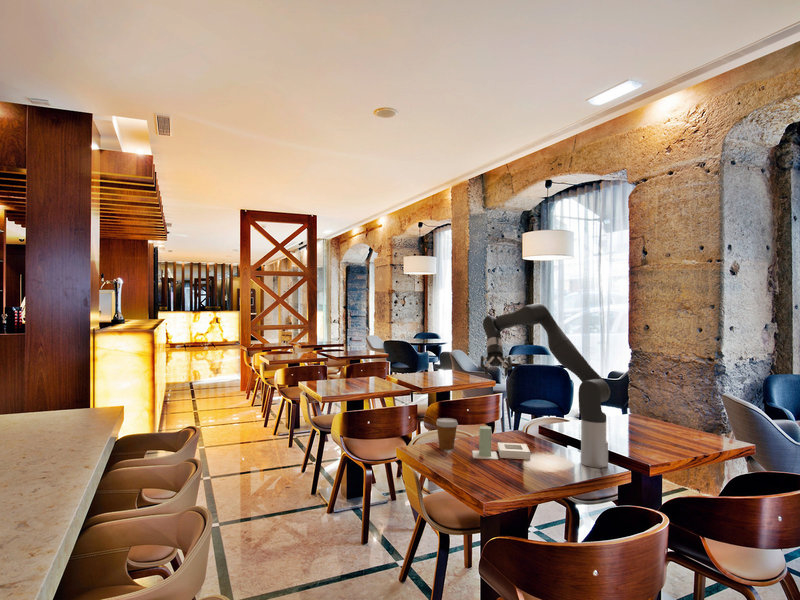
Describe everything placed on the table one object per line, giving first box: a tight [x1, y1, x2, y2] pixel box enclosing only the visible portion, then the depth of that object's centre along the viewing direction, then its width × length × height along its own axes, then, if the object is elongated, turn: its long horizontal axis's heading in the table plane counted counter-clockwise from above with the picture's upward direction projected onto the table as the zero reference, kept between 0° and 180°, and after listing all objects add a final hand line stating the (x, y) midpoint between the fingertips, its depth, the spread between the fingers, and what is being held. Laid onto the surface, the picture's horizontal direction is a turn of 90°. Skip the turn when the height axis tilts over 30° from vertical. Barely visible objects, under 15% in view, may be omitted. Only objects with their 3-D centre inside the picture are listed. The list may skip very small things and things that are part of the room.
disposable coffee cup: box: [435, 417, 459, 451], centre depth 202 cm, size 10×10×12 cm
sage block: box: [478, 425, 492, 456], centre depth 192 cm, size 5×5×11 cm
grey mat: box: [471, 450, 499, 461], centre depth 192 cm, size 10×10×1 cm
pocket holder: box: [497, 442, 531, 460], centre depth 195 cm, size 12×12×3 cm
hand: (496, 375), depth 213 cm, fingers open, 8 cm apart
